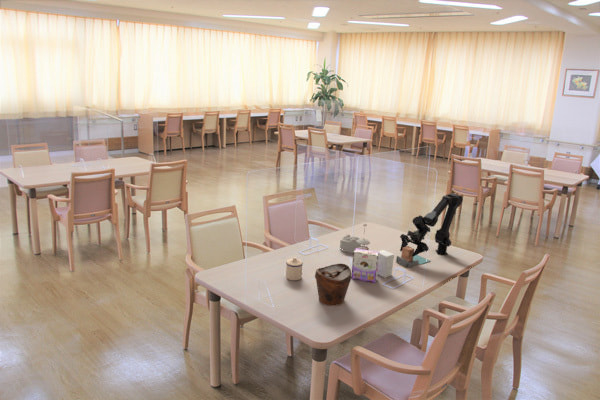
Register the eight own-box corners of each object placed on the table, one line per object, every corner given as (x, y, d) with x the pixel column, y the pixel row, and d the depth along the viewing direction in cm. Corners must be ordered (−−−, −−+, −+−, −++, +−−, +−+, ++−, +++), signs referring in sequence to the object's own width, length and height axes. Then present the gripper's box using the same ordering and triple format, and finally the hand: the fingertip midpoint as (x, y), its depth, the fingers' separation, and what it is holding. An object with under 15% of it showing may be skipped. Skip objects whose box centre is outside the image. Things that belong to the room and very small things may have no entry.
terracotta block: (406, 261, 303) (408, 246, 300) (412, 264, 299) (414, 248, 296) (400, 262, 300) (402, 247, 297) (406, 265, 296) (408, 250, 293)
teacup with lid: (304, 279, 271) (306, 259, 268) (290, 281, 267) (291, 262, 264) (294, 270, 281) (296, 251, 278) (280, 272, 277) (281, 253, 274)
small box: (391, 275, 282) (394, 254, 279) (384, 278, 278) (386, 256, 275) (381, 270, 288) (383, 249, 284) (373, 272, 284) (376, 251, 281)
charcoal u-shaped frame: (406, 258, 306) (407, 253, 305) (418, 264, 299) (419, 258, 298) (396, 262, 300) (396, 256, 299) (407, 267, 294) (408, 261, 292)
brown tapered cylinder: (307, 304, 244) (310, 271, 239) (320, 288, 262) (323, 257, 257) (341, 313, 238) (345, 280, 233) (352, 296, 256) (356, 264, 251)
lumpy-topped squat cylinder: (362, 251, 314) (363, 238, 312) (344, 253, 309) (345, 240, 306) (353, 245, 323) (355, 232, 321) (336, 247, 318) (337, 234, 315)
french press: (351, 264, 294) (354, 224, 286) (356, 257, 304) (360, 219, 297) (367, 267, 290) (371, 227, 283) (372, 260, 301) (376, 221, 293)
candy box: (377, 279, 277) (380, 251, 272) (375, 283, 271) (378, 255, 267) (353, 274, 281) (355, 247, 276) (350, 278, 276) (353, 251, 271)
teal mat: (416, 255, 313) (416, 254, 313) (430, 261, 305) (430, 260, 304) (406, 258, 307) (406, 257, 307) (420, 264, 299) (420, 264, 299)
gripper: (403, 221, 302) (389, 241, 299) (428, 231, 288) (413, 252, 285) (410, 231, 309) (396, 250, 306) (434, 241, 295) (420, 261, 292)
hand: (406, 253), depth 297 cm, fingers open, 9 cm apart
